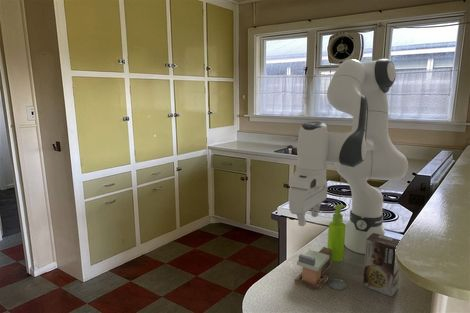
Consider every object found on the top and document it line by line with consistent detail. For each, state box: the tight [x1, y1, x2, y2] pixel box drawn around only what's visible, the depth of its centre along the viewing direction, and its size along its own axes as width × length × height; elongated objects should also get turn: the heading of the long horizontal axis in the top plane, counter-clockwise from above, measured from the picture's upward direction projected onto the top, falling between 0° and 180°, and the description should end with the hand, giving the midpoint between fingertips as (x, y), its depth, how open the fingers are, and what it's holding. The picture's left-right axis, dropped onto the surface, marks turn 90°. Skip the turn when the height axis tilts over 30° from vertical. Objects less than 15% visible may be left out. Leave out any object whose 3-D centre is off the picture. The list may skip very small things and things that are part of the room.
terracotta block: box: [301, 267, 321, 285], centre depth 108 cm, size 4×4×6 cm
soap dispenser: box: [326, 203, 347, 262], centre depth 123 cm, size 6×7×20 cm
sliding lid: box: [296, 249, 330, 271], centre depth 108 cm, size 10×7×3 cm
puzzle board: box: [294, 246, 332, 291], centre depth 112 cm, size 18×8×6 cm, turn 144°
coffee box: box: [362, 233, 401, 297], centre depth 104 cm, size 9×6×16 cm
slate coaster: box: [327, 278, 347, 291], centre depth 107 cm, size 6×6×1 cm
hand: (308, 220), depth 103 cm, fingers open, 8 cm apart
